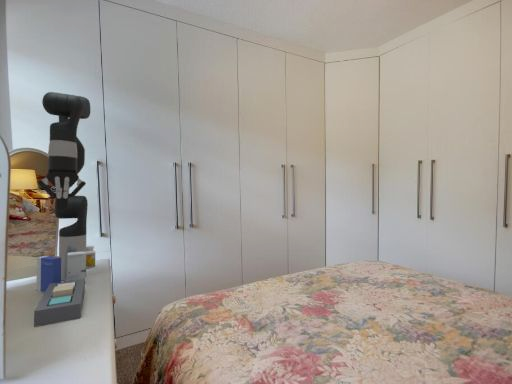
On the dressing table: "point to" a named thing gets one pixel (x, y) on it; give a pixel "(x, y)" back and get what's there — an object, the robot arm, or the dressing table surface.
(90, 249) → the supplement bottle
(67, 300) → the teal key
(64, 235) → the robot arm
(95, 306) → the dressing table surface
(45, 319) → the grey board with slots
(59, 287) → the sand key
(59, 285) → the grey key
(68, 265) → the skincare box
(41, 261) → the walkman
